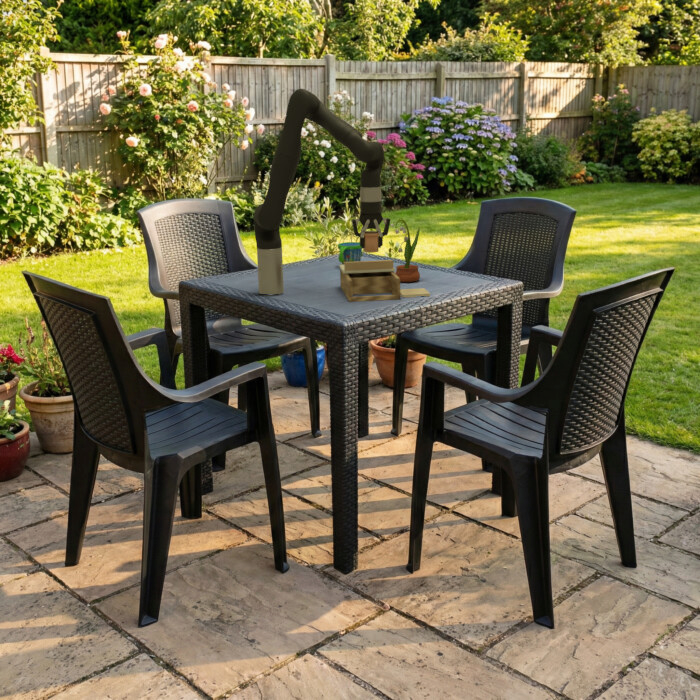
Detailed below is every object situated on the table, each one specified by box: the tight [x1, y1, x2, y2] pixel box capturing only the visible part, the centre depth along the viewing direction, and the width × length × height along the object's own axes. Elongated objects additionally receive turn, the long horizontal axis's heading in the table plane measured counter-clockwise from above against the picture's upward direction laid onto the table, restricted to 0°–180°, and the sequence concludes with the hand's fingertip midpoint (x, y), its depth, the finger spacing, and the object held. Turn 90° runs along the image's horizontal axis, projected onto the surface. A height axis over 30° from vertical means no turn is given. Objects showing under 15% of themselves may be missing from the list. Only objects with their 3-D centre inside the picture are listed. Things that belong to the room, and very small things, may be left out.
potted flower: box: [390, 217, 421, 283], centre depth 342 cm, size 12×10×25 cm
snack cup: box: [337, 241, 363, 265], centre depth 377 cm, size 16×10×10 cm
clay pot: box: [363, 230, 379, 253], centre depth 312 cm, size 6×6×7 cm
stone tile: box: [400, 287, 431, 298], centre depth 321 cm, size 10×10×1 cm
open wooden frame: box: [339, 268, 401, 303], centre depth 324 cm, size 18×28×8 cm, turn 7°
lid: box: [338, 259, 396, 274], centre depth 328 cm, size 19×13×4 cm
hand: (371, 247), depth 313 cm, fingers closed on clay pot, 5 cm apart
